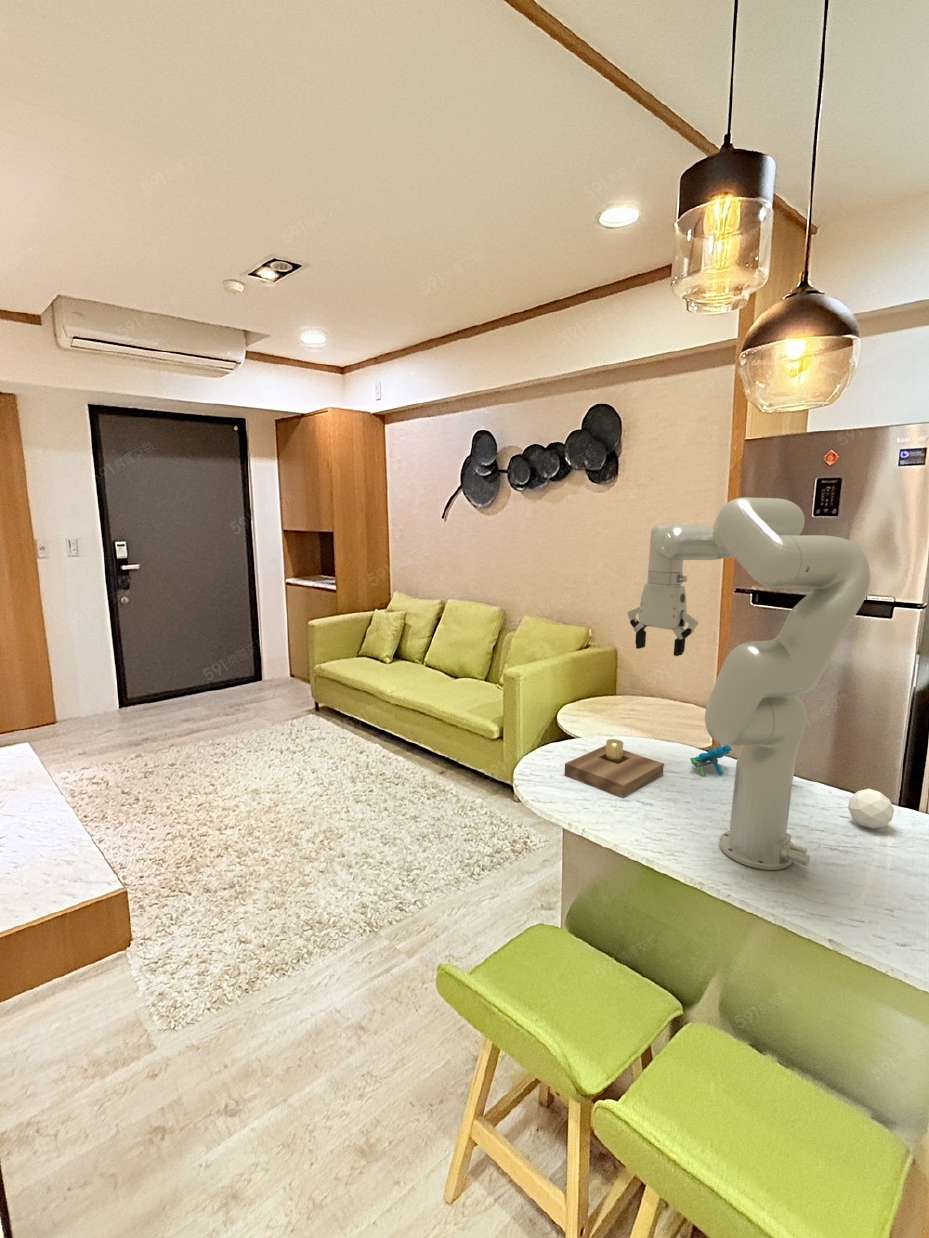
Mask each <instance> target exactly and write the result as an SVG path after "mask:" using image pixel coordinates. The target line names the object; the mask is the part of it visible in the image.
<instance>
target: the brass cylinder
mask: <svg viewBox="0 0 929 1238" xmlns="http://www.w3.org/2000/svg"><path fill="white" fill-rule="evenodd" d="M623 750H624V742H623V741H622V740H620V739H613V738H612V739H607V740H606V757H605V760H607V761H610V762H613V763H616V764H619V763H622V755H623Z"/></svg>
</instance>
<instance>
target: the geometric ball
mask: <svg viewBox="0 0 929 1238" xmlns="http://www.w3.org/2000/svg"><path fill="white" fill-rule="evenodd" d="M847 808H848V811H849V814H850V816H851V818H852V819H853V820H854V821H855V822H856V823H858V824H859V825H860V826H862V827H865V828H868V829H871V830H875V829H880V828H885V827H886V826H887V825H888V824H890V822H891V821H893V817H894V813H895V809H894V806H893V804H892V802H891V799H890V798H888V797H887V796H886V795H884V794H883V793H882V792H880V791H877V790H875V789H871V788H866V789H861V790H858V791H856V792H855V793H853V795H851V796H850V797H849V802H848V805H847Z"/></svg>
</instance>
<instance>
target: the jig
mask: <svg viewBox="0 0 929 1238" xmlns="http://www.w3.org/2000/svg"><path fill="white" fill-rule="evenodd" d="M605 757H606V745H603V746H601V747H599V748H596V749H594V750H592V751H589V752H587V753H585V754H583V755H581V756H579V757H576V758H574V759H573V760H569V761H568V762H566V763H564V776H566V777H568V778H571V779H573V780H576V781H578V782H581V783H583V782H584V783H583V784H586V785H587V786H591V787H594V788H596V789H599V790H601V791H604V792H606V793H609V794H611V795H614V796H617V797H620V798H621V799H624V798H626V797H627V796H630V795H631V794H632V793H634V792H636V791H637V790H640V789H642V787H645V786H647V785H648V784H650V783H651V782H654V781H655V780H657V779H658V778H660V777H662V776H663V775H664V769H665V768H664V767H665V766H664V765H665V763H664V762H660V761H658V760H654V759H651V758H648V757H645V756H643V755H639V754H637V753H633V752H631V751H628V750H624V749H623V755H622V763H619V764H616V763H613V762H610V761H607V760H605Z"/></svg>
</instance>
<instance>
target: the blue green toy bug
mask: <svg viewBox="0 0 929 1238" xmlns="http://www.w3.org/2000/svg"><path fill="white" fill-rule="evenodd" d="M732 750H733V749H732V747H731V746H727V745H720V746H717V747H716V749H713V748H710V749H708V750H707V752H702V753H701V752H700V754H698V756H695V757H691V758H690V759H689V760H690V761H691V763H692V764H691V765H693V766H695V768H696V769H698V770H699V772H700V775H701V776H702V777H705V776H706V774H705V772H704V770H703V767H707V766H711V765H713V766H714V768H715V770H716V772H717V773H718V776H721V774H722V775H723V774H724V772H723V771H722V768H721V766H720V764H719V759H723V757H725V755H728V754H730V751H732Z"/></svg>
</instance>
